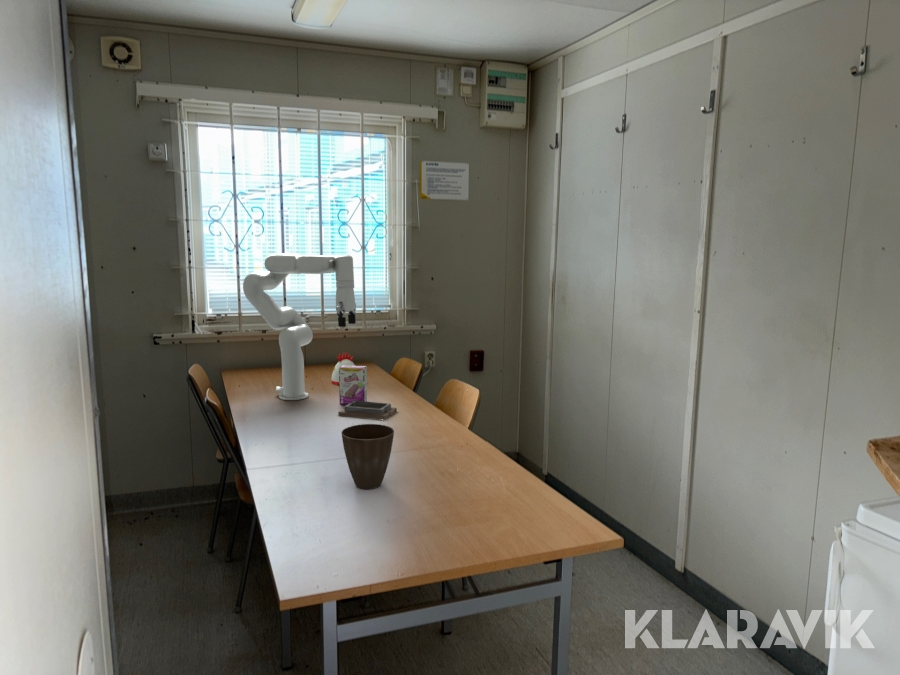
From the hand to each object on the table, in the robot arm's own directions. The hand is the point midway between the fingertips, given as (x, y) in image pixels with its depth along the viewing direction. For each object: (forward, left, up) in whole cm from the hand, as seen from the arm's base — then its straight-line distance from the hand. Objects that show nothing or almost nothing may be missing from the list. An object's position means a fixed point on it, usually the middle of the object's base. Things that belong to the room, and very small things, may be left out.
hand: (347, 325), depth 263 cm
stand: (+15, -13, -34) cm, 39 cm away
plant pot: (+45, -81, -34) cm, 99 cm away
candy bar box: (+3, -1, -34) cm, 34 cm away
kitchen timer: (-18, +35, -34) cm, 52 cm away
